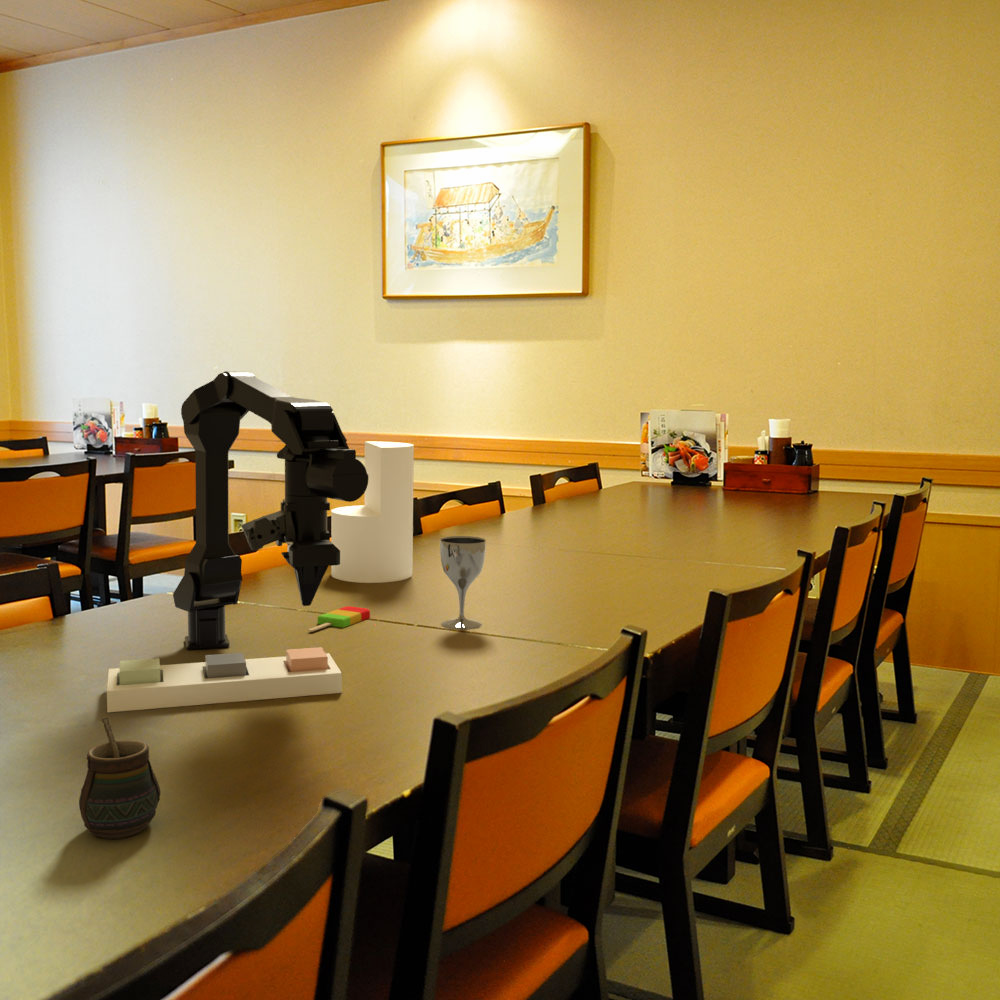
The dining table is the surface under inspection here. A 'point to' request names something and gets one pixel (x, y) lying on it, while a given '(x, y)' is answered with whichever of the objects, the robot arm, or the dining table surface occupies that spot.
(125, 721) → the dining table surface
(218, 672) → the charcoal key
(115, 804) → the mate gourd
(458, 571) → the wine glass
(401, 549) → the cylinder
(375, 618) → the dining table surface
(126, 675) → the sage key
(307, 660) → the terracotta key
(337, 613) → the popsicle
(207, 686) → the cream block puzzle board
